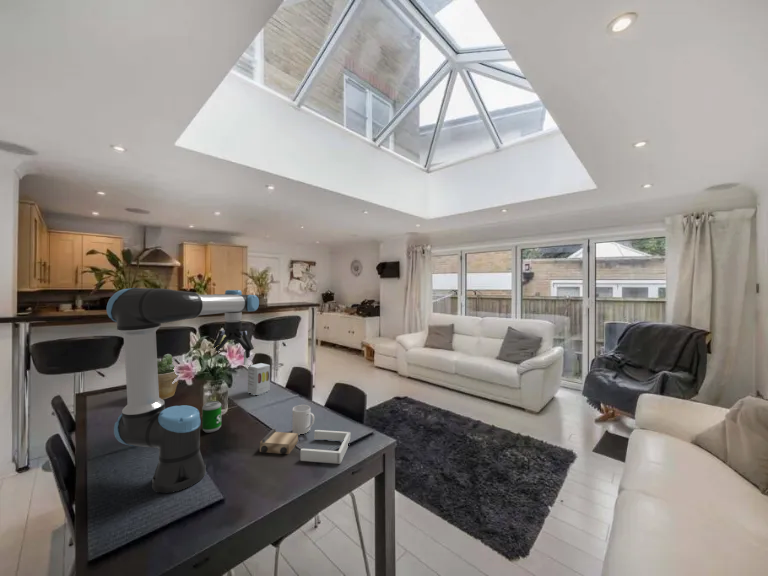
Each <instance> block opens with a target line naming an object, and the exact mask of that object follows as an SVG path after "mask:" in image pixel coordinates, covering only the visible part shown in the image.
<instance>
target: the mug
mask: <svg viewBox="0 0 768 576" xmlns="http://www.w3.org/2000/svg"><path fill="white" fill-rule="evenodd" d="M311 411H312V410H311V406H310V405H307V404H299V405H295V406H293V407H292V423H291V425H292V426H291V427H292V432H291V433H298V436H301V435H300V434H304V433H307V432H308V431H309V430H310V431H311V427H313V425H314V423H315V419H316V418H315V415H314V413H313V412H311ZM307 434H308V433H307ZM304 435H305V434H304Z"/></svg>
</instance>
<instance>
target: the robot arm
mask: <svg viewBox="0 0 768 576" xmlns="http://www.w3.org/2000/svg"><path fill="white" fill-rule="evenodd" d="M242 293H243V292H242V290H240V289H226V290H225V291H224V294H218V293H215V294H214V293H213V294H199V293H197V292H194V291H185V290H184V291H183V290H175V289H171V288H170V289H168V288H160V287H159V288H151V287H149V288H148V287H147V288H145V287H144V288H143V287H132V288H130V287H129V288H123V289H120V290H118V291H116V292H115V293H113V295H112V296H111V297H110V298H109V300H108V301H107V305H106V314H107V316H108V318H109V319H111V320H112V321H113V322H115V323H116V330H117V331H118V332H119V333H121V334H122V335H123V346H124V347H123V349H124V364H125V365H124V367H125V380H126V381H125V383H126V385H125V386H126V398H127V399H126V400H127V404H126V405H125V406H124V407H123V408H122V410H121V414H119V416H118V418H117V421H115V422H114V427H113V435H114V438H115V439H116V440H117V442H118V443H121V444H122V445H127V446H130V447H144V448H153V449H158V462H157V465H156V467H155V471H154V474H153V477H152V480H151V488H152V490H153V491H154V490H155V491H154V492H156V491H157V492H156V493H159V492H171V493H174V492H173V491H176V492H179V491H178V490H180V491H183V490H186V489H188V488H190V487H192V486H194V485H195V483H196V484H197V483H198V482H199V483H200V481H201V480H202V479H203V478H204V477H205V475H206V470H207V469H206V468H207V467H206V462H205V461H204V460H203V456H202V453H201V447H200V446H201V424H202V423H201V416H200V414H201V413H200V410H199V409H198V408H197V407H194V406H192V405H186V404H185V405H184V404H183V405H173V406H172V405H171V406H169V407H166V405H165V404H166V403H165V399H161V398H159V387H158V368H157V359H158V351H157V334H156V332H157V331H158V330H159V329H160V328H161V326H162V324H166V323H172V322H179V321H185V320H190V319H191V320H193V319H196V318H197V317H199V316H205V315H215V314H216V315H217V314H224V321H225V322H224V329H225V330H223V329H221V330H219V331H218V334H217V337H216V339H215V341H214V343H213V345H212V348H213V347H214V348H215V347H216V346H217V345H219V346H218V347H216V350H215V351H218V353H219V352H220V351H219V349H220V348H222V349H223V348H224V346H225V345H226V344H227V343H228V341H237V342H238V344H239V345H240V346H241V347H242V348H243V350H244V351H243V365H244V366H246V365H248V364H249V358H250V356H251V351H252V350H254V345H253V343H252V341H251V339H250V336H249V332H248V330H244V331H242V328H243V326H242V325H243V324H242V323H243V322H242V319H243V318H242V317H243V316H242V315H243V313H242V312H249V313H250V312H255V311H257V310H258V308H259V305H260V300H259V299H260V298H259V297H258V296H257V295H255V294H242ZM224 335H225V337H224ZM193 484H194V485H193ZM191 485H192V486H191ZM189 486H190V487H189ZM187 487H188V488H187ZM185 488H186V489H185ZM182 489H183V490H182Z"/></svg>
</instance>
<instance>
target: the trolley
mask: <svg viewBox="0 0 768 576" xmlns="http://www.w3.org/2000/svg"><path fill="white" fill-rule="evenodd" d="M297 442H298V443H299V435H298V433H293V432H286V431H285V432H283V431H281V432H280V431H276V429H275V428H272V429H271V430H270V432H268V433H267V434H266V435H265V436H264V437H263V438H262V440H260V442H259V453H264V454H265V453H269V454H271V453H272V454H282V455H290V454H291V452H292V451H293V449H294V448H295V447H296V446H297V444H298V443H297ZM295 445H296V446H295Z"/></svg>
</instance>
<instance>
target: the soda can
mask: <svg viewBox="0 0 768 576" xmlns="http://www.w3.org/2000/svg"><path fill="white" fill-rule="evenodd" d="M201 419H202V423H201V424H202V429H201V430H202V431H204V432H205V433H206V434H207V433H214V432H217V431H219V430H220V428H221V427H222V403H221V402H220V401H219V400H211V401H207V402H205V403H204V405H203V406H202V418H201Z"/></svg>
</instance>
